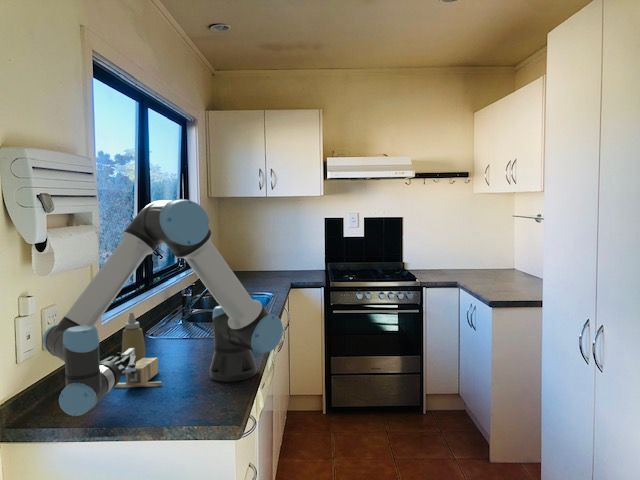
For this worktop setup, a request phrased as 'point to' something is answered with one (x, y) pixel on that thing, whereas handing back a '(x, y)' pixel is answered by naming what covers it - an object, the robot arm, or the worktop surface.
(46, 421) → the worktop surface
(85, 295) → the robot arm
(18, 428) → the worktop surface
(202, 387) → the worktop surface
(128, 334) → the squeeze bottle
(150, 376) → the oak block
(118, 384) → the maple strip
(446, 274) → the worktop surface
